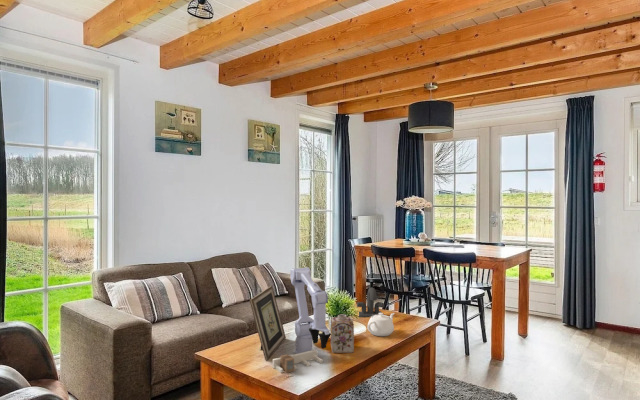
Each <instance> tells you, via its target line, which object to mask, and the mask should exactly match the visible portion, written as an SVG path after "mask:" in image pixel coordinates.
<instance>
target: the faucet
mask: <svg viewBox="0 0 640 400" xmlns="http://www.w3.org/2000/svg"><path fill="white" fill-rule="evenodd" d="M366 296H367V299H366V302H367V303H365V302H363V301H357V302H356V307H357V308H361V311H358V312H359V316H358V318H371V316H373V315H379V313H383V312H382V311H381V310H380V308H384V307H385V303H384V302H380V301H378V302H376V303H375V302H374V301H377V300H378V298H377V297H378V296H377V290H376V288H374V287H369V288H368V289H367V295H366ZM383 315H385V314H384V313H383Z"/></svg>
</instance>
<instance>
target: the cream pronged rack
mask: <svg viewBox="0 0 640 400" xmlns="http://www.w3.org/2000/svg"><path fill="white" fill-rule="evenodd" d="M289 355H290V356H291V357H293V358H294V371H295V370H297V369H298V366H297V364H300V363H301V364H303V365H305V366H307V367H310V366H311V363H310V362H309V361H313V360H315V361H316V362H318V363H319V364H323V363H324V362H323V361H324V360H323V359H322V358H320V357H319V356H318V350H317V349H312V351H307V352H303V353H298V354H297V353H295V354H289ZM280 366H281V356H279V357H277V358H273V359H272V367H271V368H273V369H275V370H276V371H278V372H279V373H280V374H282V373H284V371H283V369H282V368H281V367H280Z"/></svg>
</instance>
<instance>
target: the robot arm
mask: <svg viewBox="0 0 640 400" xmlns="http://www.w3.org/2000/svg"><path fill="white" fill-rule="evenodd" d="M289 274H290V275H289V277H290V282H291V285H292V286H293V287H294V290H295V291H294V292H295V298H296V299H295V300H296V303H297V310H298V311H297V312H298V316H299V318H298V319H297V320H296V321H295V322H294V332H295V336H296V337H295V347H294V348H295V350H293V352H294V353H295V354H298V353H303V352H307V351H312V350H313V344H318V342H319V341H320V347H321V349H326V348H327V344H328V341H329V339H330V338H331V332H330V329H329V328H328V326H326V325H327V323H326V322H327V321H326V318H327V317H326V315H327V314H326V313H327V312H326V311H327V310H326V308H327V307H326V304H327V303H328V302H329V301H328V300H329V298H328V297H329V296H328V293H327V291H325V290H322V289H321V287H320V286H319V285H318V283H317V282H314V281H313V279H312V272H311V269H310V267H308V266H307V267H302V268H301V267H299V268H291V270H290V273H289ZM305 285H306V287H307V288H306V290H307V291H308V294H309V295H310V297H311V303H312V308H313V317H310V316H309V311H308V303H307V297H306V291H305ZM320 332H321V333H320ZM319 339H320V340H319Z"/></svg>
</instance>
